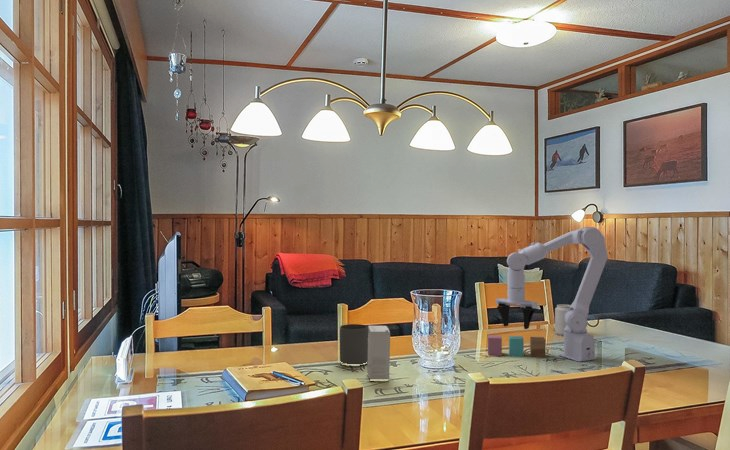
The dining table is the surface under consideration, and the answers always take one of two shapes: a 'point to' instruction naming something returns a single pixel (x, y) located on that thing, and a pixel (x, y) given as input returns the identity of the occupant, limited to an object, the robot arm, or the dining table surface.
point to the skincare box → (378, 352)
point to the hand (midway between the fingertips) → (516, 327)
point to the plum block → (494, 345)
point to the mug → (354, 344)
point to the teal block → (516, 346)
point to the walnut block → (538, 347)
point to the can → (560, 318)
